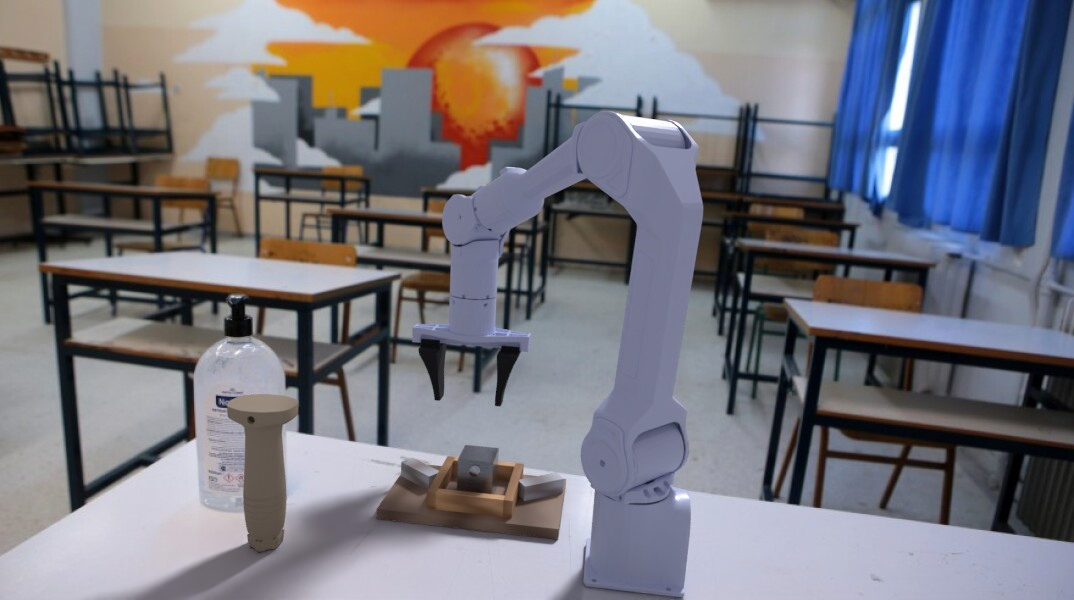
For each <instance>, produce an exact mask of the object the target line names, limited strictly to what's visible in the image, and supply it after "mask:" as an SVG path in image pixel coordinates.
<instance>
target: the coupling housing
mask: <svg viewBox="0 0 1074 600" xmlns="http://www.w3.org/2000/svg"><path fill="white" fill-rule="evenodd" d="M458 458H459V456H450V455H447V456H446V458H445V460H444V462H443V463H442V465H435V464H426V463H424V462H422V461H421V460H419V459H417V458H414V457H411V458H408V459H405V460H403V461H402V460H401V462H400V474H399V476H398V478H397V479H396V481H394V483H393V485H392V486H391V487H390V489H389V490H388V492H387V493H386V495H385V496H384V497H383V499H382V500H381V502H380V503H379V505H378V506H377V508H376V515H375V516H376V520H382V521H391V522H399V523H409V524H410V523H411V524H417V525H426V526H427V525H429V526H435V527H442V528H443V527H444V528H453V529H462V530H469V531H470V530H471V531H472V530H473V531H480V532H489V533H499V534H507V535H517V536H524V537H525V536H526V537H532V538H533V537H534V538H540V539H541V538H543V539H551V540H552V539H553V540H559V535H560V528H561V521H562V516H563V508H564V500H565V493H566V485H567V478H563V477H562V476H561V475H560V474H558V472H553V473H546V474H541V475H533V474H532V475H531V474H524V469H525V468H524V463H519V462H509V461H501V460H500V461H499V460H498V473H497V488H496V491H495V494H485V493H475V492H466V491H457V473H458Z"/></svg>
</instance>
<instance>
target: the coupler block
mask: <svg viewBox="0 0 1074 600" xmlns="http://www.w3.org/2000/svg"><path fill="white" fill-rule="evenodd" d="M499 450H500V449H499V447H490V446H480V445H471V444H470V445H469V444H465V445H464V447H463V448H462V451H461V452H460V454H459V456H458V457H459V458H458V473H457V491H466V492H475V493H485V494H495V491H496V488H497V473H498V461H499V452H500V451H499Z"/></svg>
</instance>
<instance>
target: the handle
mask: <svg viewBox="0 0 1074 600" xmlns="http://www.w3.org/2000/svg"><path fill="white" fill-rule="evenodd" d="M226 408H227V409H226V410H227V411H226V412H227V418H228V419H229V420H231V421H233V422H235V423H237V424H238V425H241V426H242V427H243V429H244V436H245V437H244V440H245V441H244V465H243V466H244V467H243V468H244V471H243V490H242V492H243V494H242V497H243V500H242V501H243V514H244V521H245V527H246V531H247V533H248V534H247V535H246V536H247V537H246V538H247V543H248V545H249V547H250V548H254V550H255V551H256V552H259V553H261V552H264V551H268V550H276V549H277V548H278V547H279V544H281V543H282V542H283V541H284V537H285V529H284V526H285V523H286V522H285V521H286V514H287V480H286V470H285V469H286V468H285V459H284V444H283V443H284V442H283V427H284V425H285V424H288V423H289V422H291V421H292V420H293V419H295V418H296V417H297V416H298V414H299V400H298V399H297V398H294V397H290V396H287V395H281V394H271V393H264V394H263V393H258V394H244V395H240V396H237V397H234V398H233V399H230V400H229V401H228V402H227V403H226Z"/></svg>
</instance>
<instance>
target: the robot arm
mask: <svg viewBox="0 0 1074 600" xmlns="http://www.w3.org/2000/svg"><path fill="white" fill-rule="evenodd" d="M699 149H700V146H699V145H698V143H696V141H695V140H694V139H693V138H692V136H691V135H690V134H689V133H688V131H687V130H686V129H685V128H684V127H683V125H681V124H680V123H679V122H677V121H676V120H675V121H674V120H672V119H653V118H649V117H648V118H647V117H641V116H640V117H639V116H633V115H626V114H620V113H617V112H614V111H611V110H603V111H602V110H601V111H599V112H596V113H594V114H593V115H592V116H590V117H589V118H588V119H587V121H582V122H580V123H577V124H576V125H575V126H574V129H573V130H572V135H571V136H570V137H569V138H568V139H567V140H565V141H564V142H562V143H561V144H560V145H559V146H558V147H556V148H555V149H553V150H552V151H551V152H550V153H548V154H547V155H546V156H545V157H543V158H542V159H541V160H539V161H538V162H536V163H535V164H534V165H533V166H531V167H530V168H528V169H525V168H521V167H514V166H513V167H512V166H505V167H503V168H502V169H501V170H499V176H498V177H495V179H493V180H492V181H490V182H489V183H487V184H481V185H479V186H478V187H477V188H476V191H474V192H473V194H471V195H467V196H466V195H465V194H459V193H457V194H452V196H451V197H450V198H449V199H448V200H447V201H446V202H445V205H444V208H443V210H442V215H441V219H442V220H441V222H442V223H441V224H442V230H443V233H444V236H445V237H446V239H447V240H448V241H449V242H450V243H451V247H450V248H451V252H450V277H449V278H450V279H449V280H450V281H449V306H448V307H449V308H448V310H449V311H448V323H447V324H444V323H443V324H434V323H431V324H430V323H429V324H427V323H426V324H425V323H416V324H415V325H413V326H412V332H411V334H412V337H411V339H412V340H411V342H412V343H420V346H419V347H418V349H417V351H418V356H419V357H420V358H421V361H422V362H423V364H424V366H425V368H426V371H427V373H428V376H429V379H430V383H431V387H432V391H433V397H434V401H437V402H438V401H439V402H440V401H441V400H442V398H443V397H444V395H445V364H446V363H445V362H446V354H447V345H449V344H450V345H461V346H471V347H482V348H483V347H484V348H493V349H494V348H496V349H499V351H498V352H497V354H496V387H495V397H494V406H495V407H501V406H502V405H503V402H504V398H505V397H504V396H505V392H506V388H507V384H508V381H509V378H510V375H511V374H512V370H513V368H514V366H515V364H516V362H517V361H518V359H519V357H520V355H521V353H522V352H524V353H528V352H529V351H530V350H531V349H530V348H531V336H532V334H531V333H530V332H523V331H516V330H509V329H504V328H499V327H496V318H497V314H496V313H497V297H498V295H497V294H498V293H497V292H498V274H499V273H498V272H499V259H500V258H502V255H504V245H505V242H506V239H508V236H509V234H510V231H511V230H512V229H514V228H515V227H517V226H519V225H521V224H523V223H525V222H526V221H528V220H530V219H532V218H534V217H536V216H537V215H539V213H541V211H542V209H543V207H544V204H545V199H546V198H548V197H550V196H552V195H554V194H557V193H558V192H560V191H562V190H564V189H566V188H569V187H570V186H572V185H573V186H574V185H575V184H577V183H578V182H581V181H584V180H586V179H587V180H588V181H590V182H591V183H592V184H594V186H596V187H597V188H599V189H600V190H601V191H603V192H604V193H605V194H607V195H608V196H609V197H611V199H613V200H614V201H615V202H617V203H619V205H621V206H622V207H624V209H625V210H626V211H627V213H628V214H629V215H630V217H631V218H632V219H633V221H634V222H635V223H636V232H635V233H636V234H635V235H636V236H635V242H634V247H633V254H632V261H631V266H630V267H631V269H630V276H629V281H628V288H627V289H628V290H627V296H626V302H625V303H626V304H625V309H624V316H623V322H622V323H623V324H622V331H621V338H620V344H619V351H618V358H617V365H616V372H615V379H614V386H613V388H612V390H611V391H610V392H609V394H608V395H607V396H606V398H605V399H604V400H603V401H602V402H601V403H600V405H598V407H597V408H596V409H595V410H594V412H593V416H592V423H591V427H590V429H589V430H588V432H587V434H586V435H585V437H584V438H583V440H582V443H581V446H580V461H581V462H580V463H581V466H582V470H583V473H584V474H585V475H584V476H585V477H586V479H587V482H589V484H590V488H592V489H594V493H593V494H594V495H593V496H594V497H593V509H592V521H591V531H590V537H589V538H586V540H585V551H584V552H585V554H584V555H585V556H584V568H583V582H582V583H583V584H584V585H585V586H586V587H590V588H591V587H592V588H599V589H606V590H607V589H608V590H609V589H610V590H615V591H623V592H624V591H625V592H632V593H633V592H634V593H643V594H651V595H657V596H668V597H676V598H683V597H684V596H685V580H686V573H687V572H686V571H687V562H688V555H689V545H690V544H689V543H690V535H691V524H692V522H691V520H692V519H691V518H692V516H691V515H692V513H691V512H692V509H691V508H692V506H691V495H690V493H689V491H688V490H686V489H683V488H679V487H675V486H672V485H673V484H674V483H675V482H674V480H675V473H676V472H678V471H679V470H681V469H682V468H683V467H684V466H686V463H687V461H688V458H689V453H690V442H689V441H690V440H689V437H688V434H687V433H688V432H687V427H686V426H687V425H686V424H687V416H688V410H687V408H685V406H684V405H682V403H681V402H680V401H678V400H677V399H676V398H675V397H674V390H675V384H676V377H677V371H678V367H679V366H678V365H679V361H680V357H681V356H680V354H681V349H682V342H683V337H684V331H685V325H686V319H687V314H688V313H687V312H688V307H689V302H690V295H691V290H692V284H693V278H694V271H695V265H696V258H697V252H698V247H699V242H700V235H701V232H702V231H701V229H702V224H703V217H704V203H703V199H702V195H701V189H700V184H699V181H698V176H697V171H696V168H697V160H698V155H699Z"/></svg>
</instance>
